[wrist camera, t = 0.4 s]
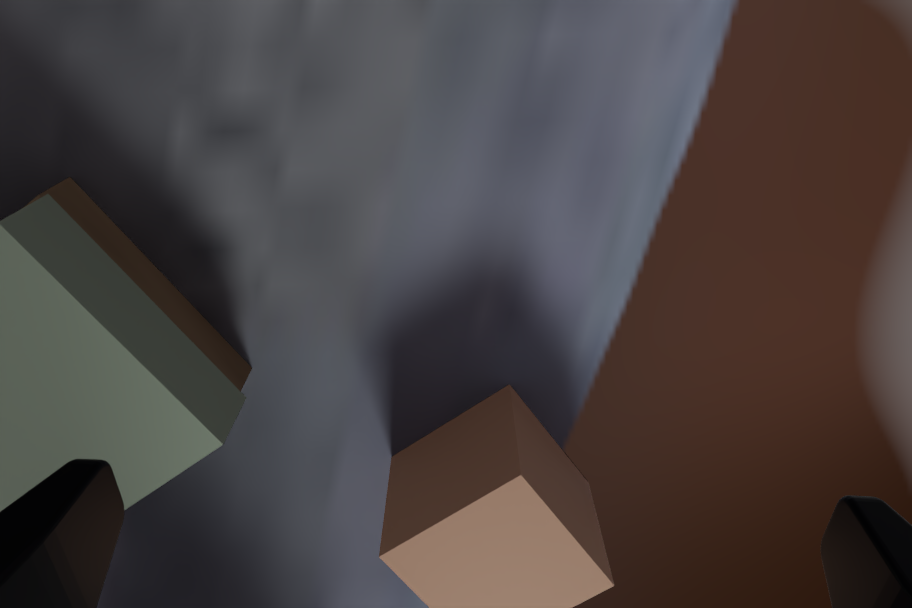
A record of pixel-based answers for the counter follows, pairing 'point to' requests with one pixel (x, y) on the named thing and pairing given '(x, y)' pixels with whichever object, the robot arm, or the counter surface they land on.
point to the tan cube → (493, 515)
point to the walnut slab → (149, 279)
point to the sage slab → (95, 366)
